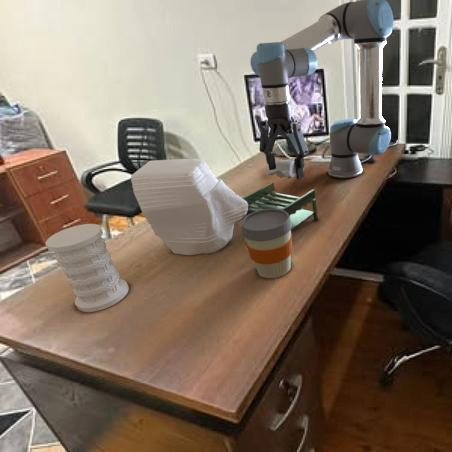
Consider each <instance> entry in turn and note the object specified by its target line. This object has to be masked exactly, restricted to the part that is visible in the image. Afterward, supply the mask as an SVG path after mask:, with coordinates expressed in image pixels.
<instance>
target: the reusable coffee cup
mask: <svg viewBox="0 0 452 452" xmlns="http://www.w3.org/2000/svg"><path fill="white" fill-rule="evenodd" d="M240 221H241V222H240V224H241V226H240V227H241V234H242V236H243V238H244V240H245V241H244V243H245V247H246V249H247V252H248V254H249V257H250V259H251V261H252V262H253V263H254V266H255V268H256V272H257V274H258V275H259V276H260V277H262V278H265V279H276V278H280V277H283V276H284V275H286V274H287V273H288V272H289V271H290V270H291V268H292V267H291V265H292V263H291V261H292V258H291V257H292V256H291V255H292V253H293V233H292V231H291V228H292V224H291V220H290V217H289V214H288V213H287V212H286V211H284V210H280V209H264V210H259V211H255V212H253V213H250V214H248V215H247V216H245V217H244V218H242V219H241V220H240Z"/></svg>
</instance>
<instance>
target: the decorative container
mask: <svg viewBox="0 0 452 452" xmlns="http://www.w3.org/2000/svg"><path fill="white" fill-rule="evenodd" d="M103 234H104V231H103V228H102V227H101V225H99V224H97V223H85V224H84V223H83V224H78V225H74V226H71V227H68V228H65V229H62V230H60V231H58V232H56V233H54V234H52V235H51V236H49V237H48V238H47V239H46V241H45V246H46V248H47V250H48V251H50V252H51V253H52V252H53V253H54V259H55V261H56V262H57V263H59V264H60V270H61V272H62V273H63V274H64V275H65V276H66V282H67V283H68V284H69V285H70V286H71V287H72V288H71V289H72V293H73V295H75V299H74V304H75V307H76V309H77V310H79V311H80V312H84V313H92V312H98V311H102V310H105V309H107V308H109V307H112V306H114V305H115V304H117V303H119V302H120V301H121V300H123V299H124V298H125V297H126V296H127V294H128V293H129V289H130V288H129V285H128V283H127V281H126V280H125V279H122V278H121V276H120V273H119V271H118V270H117V267H116V262H114V260H112V254H111V252H110V250H109V249H108V248H107V242H106V240H105V239H104V238H103V237H102V236H103Z"/></svg>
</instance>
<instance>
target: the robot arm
mask: <svg viewBox="0 0 452 452" xmlns="http://www.w3.org/2000/svg"><path fill="white" fill-rule="evenodd" d="M393 29H394V14H393V11H392V8H391V6H390V4H389V2H388V1H387V0H356V1H348V2H345V3H342V4H340V5H338V6H336V7H334V8H332V9H331V10H329V11H328V12H326V13H324V14H322V15H321V16H320V17H319V18H318V19H317V21H316V22H313V24H311V25H309V26H307V27H305V28H303V29H301V30H300V31H298V32H296V33H295V34H293V35H291V36H289V37H287V38H285V39H283V40H282V41H274V42H273V41H272V42H261V43H258V44H257V45H256V51H254V52H253V53H252V54H251V57H250V67H251V70H252V72H253V74H255V75H256V76H259V79H260V85H261V86H260V87H261V92H262V99H263V102H264V114H265V117H266V118H267V119H264V120H260V121H259V127H260V137H259V149H258V150H259V152H260V153H263V154H264V156H265V160H266V164H267V165H268V170H274V169H276V163H277V162H276V156H275V155H276V154H275V153H274V148H275V144H276V141H277V138H278V136H280V137H283V138H284V139H285V140H286V142H287V143H288V145H289V147H290V149H291V150H292V152H293V154H294V155H295V158H294V159H293V160H295V168H296V173H295V176H296V177H295V178H296V180H301V179H303V178H304V177H305V176H304V175H305V174H304V171H303V168H304V169H305V157H307V156H309V155H310V152H309V149H308V145H307V143H306V140H305V136H304V133H303V132H302V131H303V130H302V123H301V122H300V121H296V122H294V121H293V120H292V118H291V117H292V107H291V106H292V105H291V102H289V101H290V100H291V96H290V88H289V79H292V78H293V79H294V78H299V77H307V76H312V75H313V74H314V73H315V72H316V70H317V68H318V58H317V57H318V56H317V54H316V53H315V51H318V50H319V49H320V48H322V47H323V46H325V45H327V44H334V43H336V42H338V41H343V40H353V45H354V46H355V47H356V48H357V52H358V53H357V55H358V56H357V58H358V113H359V114H358V115H359V116H358V118H345V119H340V120H336V121H333V122H331V123H330V124H329V143H330V144H329V145H330V154H331V155H330V156H331V157H330V161H329V165H328V170H327V172H328V175H329V176H330V177H331V178H335V179H353V178H357V177H359V176H361V175H362V174H363V166H362V163H366V162H368V161H370V159H371V158H372V156H375V157H376V156H377V157H378V156H382V155H383V154H384V153H385V152H386V151H387V149H388V148H390V147H394V146H396V145H397V144H398V143H399V142H400V141H399V140H398V139H396V141H395V143H392V144H390V142H391V138H392V132H391V129H390V127H388V126H386V120H385V119H384V117H383V116H382V89H383V88H382V84H383V83H382V81H383V77H382V76H383V75H382V74H383V48H384V47H385V45H386V44H387V38H388V37H389V36H390V35H391V34H392V32H393ZM359 154H362V155H368V156H369V157H367V158H366V159H363V160H360V157H359ZM273 175H276V173H274V174H272V175H271V176H273Z"/></svg>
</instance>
